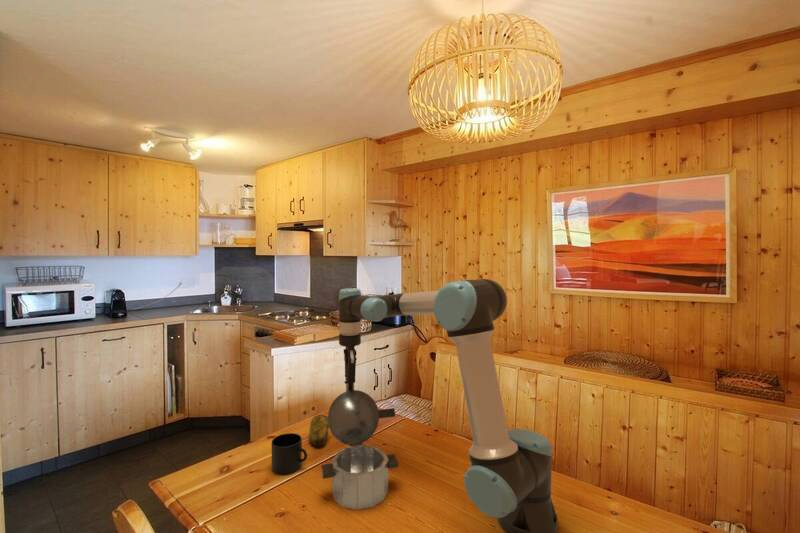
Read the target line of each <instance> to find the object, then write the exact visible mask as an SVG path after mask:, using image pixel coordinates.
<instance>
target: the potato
mask: <svg viewBox="0 0 800 533" xmlns="http://www.w3.org/2000/svg"><path fill="white" fill-rule="evenodd" d="M329 430H330V428H329V425H328V415H327V416H326V415H325V414H318V415H315V416H314V417H313V418H312V419H311V420H310V425H309V434H308V437H309V441H310V443H311V444H312V445H313V446H316V447H318V448H319V447H321V446H323V445H324V444H325V443H326V441H327V440H326V439H327V437H328V435H329Z"/></svg>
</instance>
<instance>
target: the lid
mask: <svg viewBox="0 0 800 533" xmlns="http://www.w3.org/2000/svg"><path fill="white" fill-rule="evenodd" d="M327 413H328V414H327V418H328V425H329V430H330V432H331V434H332V436H333V437H334V438H335V439H336V440H337V441H338V442H340V443H342V444H345V445H348V447H353V446H361V445H363V443H366V441H368V440H369V439H370V438H371V437H372V436H374V434H375V432H376V431H377V428H378V426H379V420H381V419H387V418H388V419H389V418H395V417H396V411H395V408H384V409H379V408H378V404H377V403H376V401H375V400H374V398H372V397H371V395H369V394H368V393H366V392H364V391H361V390H359V389H358V390H357V389H354V390H351V391H347V392H346V391H344V392H343V393H340V394H339V395H338V396H336V398H335V399H334V400H333V401H332V403H331V405H330V407H329V409H328V412H327Z"/></svg>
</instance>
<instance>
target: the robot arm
mask: <svg viewBox="0 0 800 533" xmlns="http://www.w3.org/2000/svg"><path fill="white" fill-rule="evenodd" d="M506 293H507V292H506V291H505V290H504V288H503V287H502V285H501V284H500V283H498V282H497V281H495V280H492V279H488V278H480V279H464V280H463V279H461V280H456V281H451V282H448V283H446V284H444V285H443V286H441V287H440V289H439V290H430V291H429V290H428V291H418V292H407V293H395V294H394V293H393V294H388V295H387V294H384V295H375V296H364V295H363V296H362V291H361V290H360V288H351V287H350V288H342V289H340V290H339V293H338V321H339V322H338V324H337V325H336V326H337V327H338V333H339V335H338V344H339V346H341V347H345V348H344V349H343V355H344V356H343V359H344V378H345V381H344V384H345V392H347V391H351V390H355V383H356V365H357V349H356V348H355V347H358V346H360V345H361V344H362V342H361V340H362V334H361V332H362V320H364V321H369V322H381V321H382V320H384V319H385V318H390V317H397V316H399V317H402V316H425V315H426V316H430V315H431V316H432V315H433V316H434V318H435V321H436V323H437V324H439V326H440V327H441V328H442V329H444V330H446V336H447V339H449V340H450V341H451V342H453V343H454V345H455V349H456V350H455V351H456V356H457V359H458V366H459V371H460V377H461V382H462V388H463V392H464V397H465V398H464V399H465V403H466V408H467V414H468V420H469V425H470V430H471V431H470V432H471V435H472V436H471V437H472V441H473V443H472V445H471V446H470V447H469V448H468V455H469V459H470V467H468V468H467V471H466V472H465V473H464V479H463V483H464V488H465V491H466V494H467V495H468V497H469V499H470V500H471V502H472V503H473V505H475V506H476V508H477V509H478V510H479V511H480V512H482V513H483V514H484V515H486V516H488V517H490V518H494V519H497V522H498V524H499V526H501V528H502V529H503V530H504V531H505V532H506V533H558V527H559V525H558V524H559V523H558V522H559V520H558V515H557V512H556V510H555V506H554V503H553V500H552V468H553V466H552V464H553V461H552V460H553V452H552V443H551V441H550V440H549V439H548V438H547V437H546V436H544V435H543V434H541V433H539V432H536V431H533V430H528V429H524V428H510V429H508V424H507V419H506V413H505V409H504V404H503V399H502V394H501V387H500V382H499V377H498V373H497V368H496V364H495V358H494V353H493V347H492V343H491V342H492V341H491V337H492V335H493V334H494V332H495V326H494V321H496V320H498V319H499V318H501V316H502V315H503V314H504V313H505V311H506V308H507V305H508V296H507V294H506Z"/></svg>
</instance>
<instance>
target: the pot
mask: <svg viewBox="0 0 800 533" xmlns="http://www.w3.org/2000/svg"><path fill="white" fill-rule="evenodd" d="M394 468H399V461H398V459H397V457H396V455H395V454H386V452H385V451H384V450H382V449H380V448H378V447H377V446H371V445H366V444H362V445H358V446H350V447H349V446H348V447H344V449H342V450H340V451H338V452H337V453H336V454H335V455H334V457H333V458H332V459H331V463H326V464H325V463H324V464H321V473H322V479H331V491H332V499H333V501H334V502H335V503H337V504H338V505H339V506H341V507H342V508H345V509H349V510H357V511H358V510H365V509H370V508H371V509H372V508H374V507H375V506H377V505H378V504H380V503H382V502H383V501H385V499H386V497H387V494H388V492H389V469H394Z"/></svg>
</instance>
